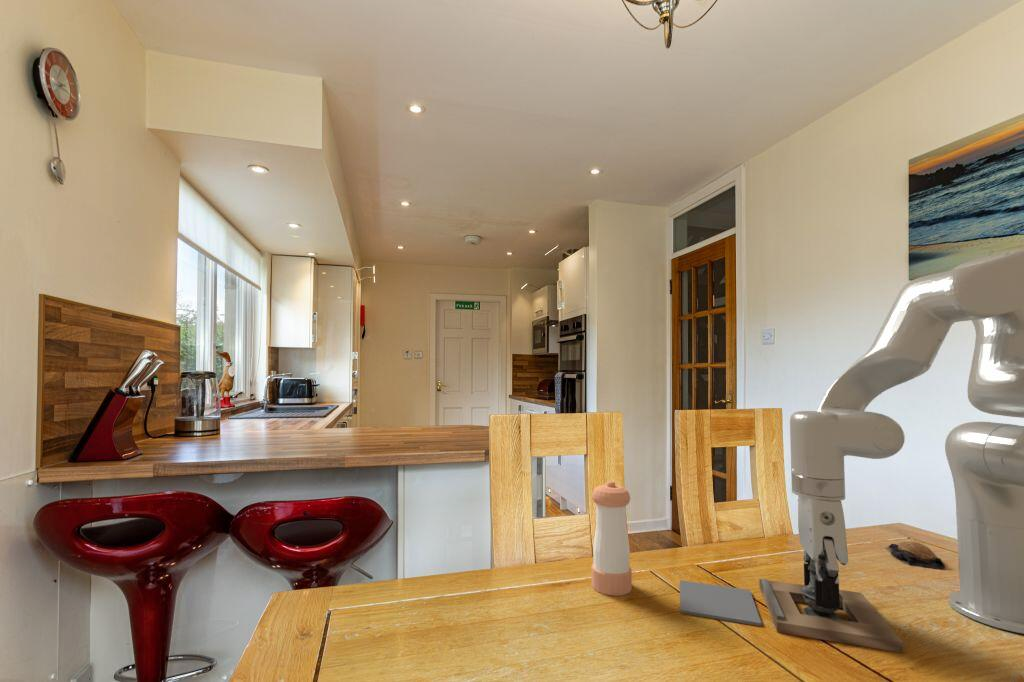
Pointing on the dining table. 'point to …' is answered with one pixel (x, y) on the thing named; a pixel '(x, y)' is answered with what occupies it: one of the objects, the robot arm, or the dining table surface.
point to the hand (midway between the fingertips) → (821, 596)
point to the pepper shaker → (611, 541)
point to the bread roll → (915, 555)
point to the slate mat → (718, 602)
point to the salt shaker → (810, 596)
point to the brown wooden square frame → (860, 631)
